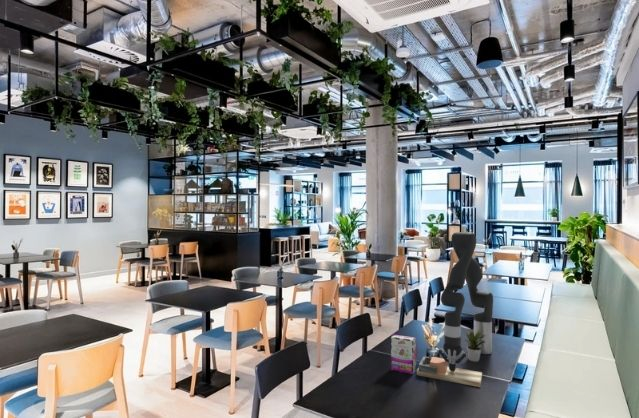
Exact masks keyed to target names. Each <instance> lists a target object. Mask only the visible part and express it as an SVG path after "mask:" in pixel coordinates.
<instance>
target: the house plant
mask: <svg viewBox="0 0 639 418" xmlns="http://www.w3.org/2000/svg"><path fill="white" fill-rule="evenodd" d="M481 332H482V331H480V332H479V330H478V332H477V333H476V335H475V337H474V327H473V328H471V329H470V328H468V332H466V331H464V334H465V336H466V338H468V340H467V339H466V338H462V340H464V342H465V341H466V342H467V343H468V345H467V346H466V351H467V352H466V353H467V357H468V360H469V361H471V362H475V363H476V362H479V361H480V357H481V354H480V353H481V348H480V347H478V346H479V345H481V344H482V343H485V341H487V340H485V341H483V340H479V341H478V339H481V338H484V335H482V336H483V337H482V336H481V337H480V334H481ZM468 333H469V334H468ZM485 335H488V334H485ZM480 341H482V342H480ZM478 342H480V343H478ZM477 343H478V344H477ZM482 345H483V346H484V344H482Z"/></svg>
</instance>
